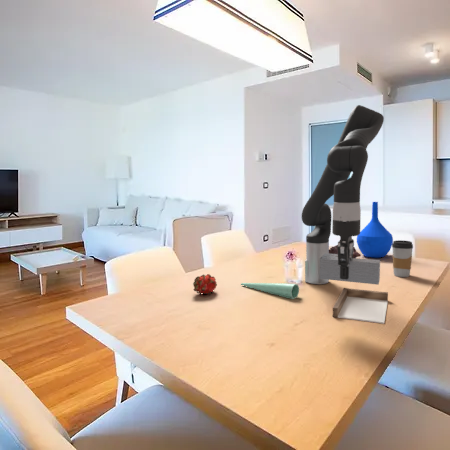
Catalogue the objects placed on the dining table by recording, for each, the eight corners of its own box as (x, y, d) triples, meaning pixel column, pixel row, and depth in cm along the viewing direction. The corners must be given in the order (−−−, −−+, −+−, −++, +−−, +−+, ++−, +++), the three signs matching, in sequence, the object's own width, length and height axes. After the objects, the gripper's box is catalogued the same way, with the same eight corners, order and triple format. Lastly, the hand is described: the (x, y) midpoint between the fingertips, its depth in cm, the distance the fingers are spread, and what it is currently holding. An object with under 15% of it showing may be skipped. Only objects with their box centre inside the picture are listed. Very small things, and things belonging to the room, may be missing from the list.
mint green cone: (244, 272, 155) (299, 282, 136) (245, 284, 155) (299, 296, 137) (236, 274, 151) (291, 286, 132) (236, 287, 152) (291, 300, 133)
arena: (332, 316, 116) (332, 307, 115) (343, 295, 136) (343, 287, 135) (384, 323, 109) (384, 314, 109) (387, 300, 129) (387, 292, 129)
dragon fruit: (192, 301, 139) (213, 297, 149) (206, 291, 135) (227, 288, 144) (184, 281, 143) (205, 279, 152) (198, 271, 138) (218, 269, 147)
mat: (337, 317, 115) (337, 316, 115) (347, 297, 134) (347, 296, 134) (384, 323, 109) (384, 322, 109) (387, 301, 128) (387, 300, 128)
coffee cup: (394, 272, 166) (394, 239, 164) (414, 274, 161) (415, 241, 159) (388, 276, 160) (389, 242, 158) (409, 278, 155) (410, 244, 153)
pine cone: (324, 261, 191) (324, 243, 190) (331, 258, 199) (331, 240, 197) (358, 265, 180) (358, 245, 179) (364, 262, 187) (365, 242, 186)
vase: (367, 251, 213) (368, 200, 210) (398, 255, 199) (400, 201, 195) (350, 256, 202) (350, 202, 198) (382, 261, 188) (383, 203, 184)
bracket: (319, 278, 107) (319, 258, 106) (325, 272, 114) (325, 253, 113) (378, 284, 100) (379, 263, 99) (380, 277, 107) (381, 257, 106)
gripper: (337, 215, 111) (336, 270, 113) (327, 220, 99) (327, 282, 101) (363, 215, 108) (362, 272, 110) (357, 221, 95) (355, 285, 97)
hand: (345, 276), depth 105 cm, fingers closed on bracket, 4 cm apart
